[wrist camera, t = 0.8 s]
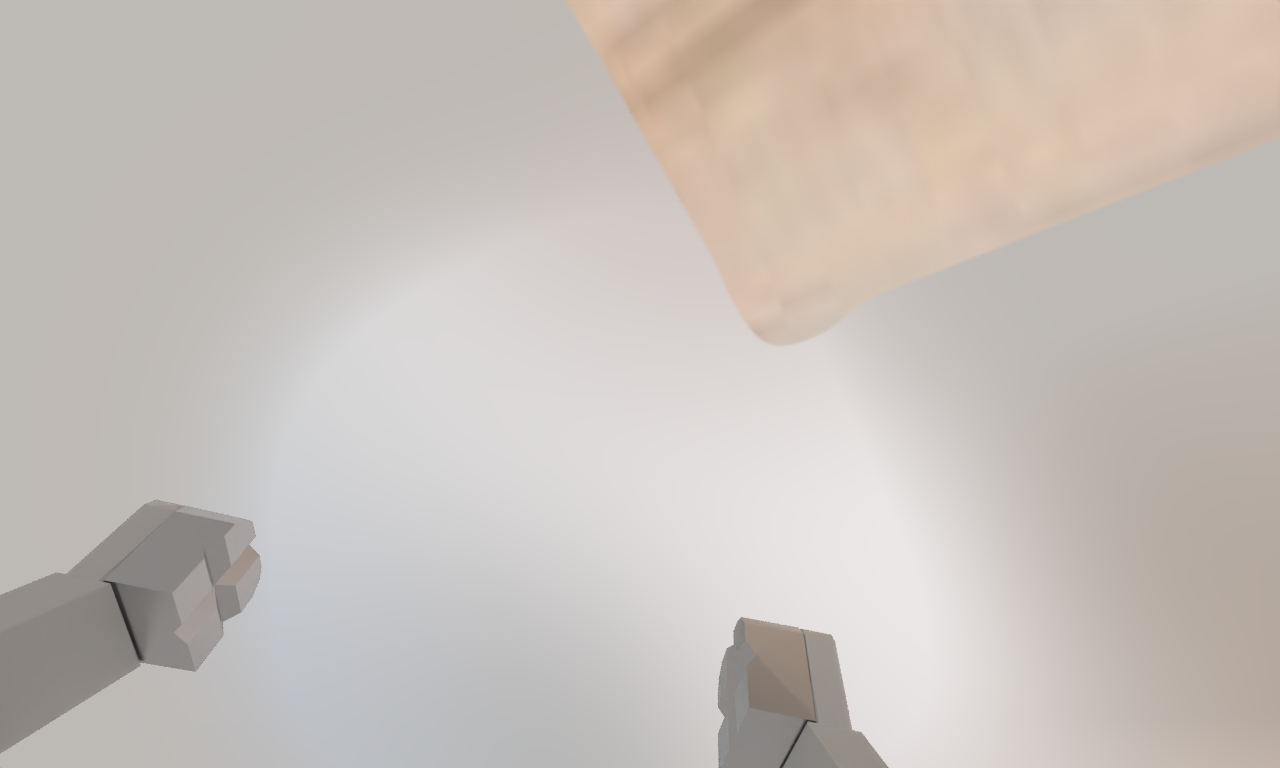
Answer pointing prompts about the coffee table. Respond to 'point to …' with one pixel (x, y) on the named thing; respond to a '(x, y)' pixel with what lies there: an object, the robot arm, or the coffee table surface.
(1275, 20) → the coffee table surface
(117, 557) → the robot arm
